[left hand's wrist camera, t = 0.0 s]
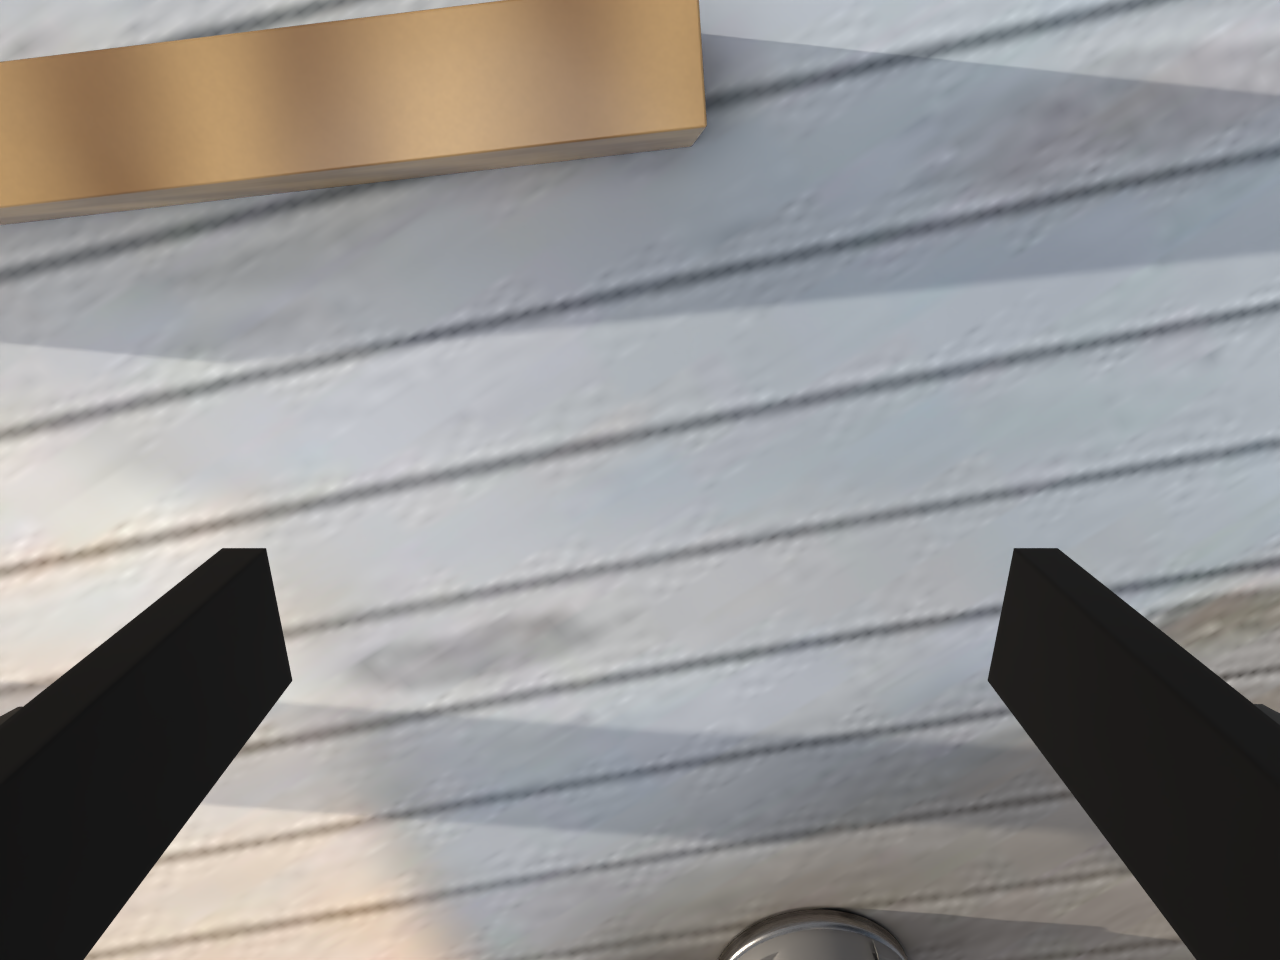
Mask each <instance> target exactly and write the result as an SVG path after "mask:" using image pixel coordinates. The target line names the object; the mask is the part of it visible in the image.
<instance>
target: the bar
mask: <svg viewBox="0 0 1280 960" xmlns="http://www.w3.org/2000/svg"><path fill="white" fill-rule="evenodd" d="M706 126H707V119H706V103H705V88H704V72H703V57H702V41H701V26H700V10H699V0H503V1H495V2H487V3H479V4H471V5H462V6H454V7H446V8H438V9H430V10H421V11H413V12H405V13H397V14H389V15H380V16H372V17H364V18H356V19H348V20H340V21H331V22H323V23H315V24H307V25H299V26H290V27H282V28H274V29H266V30H258V31H249V32H241V33H233V34H225V35H217V36H209V37H200V38H192V39H184V40H176V41H168V42H159V43H151V44H143V45H135V46H127V47H118V48H110V49H102V50H94V51H86V52H77V53H69V54H61V55H53V56H45V57H37V58H28V59H20V60H12V61H4V62H0V225H6V224H14V223H23V222H32V221H41V220H50V219H58V218H67V217H76V216H85V215H94V214H102V213H111V212H120V211H129V210H137V209H146V208H155V207H164V206H173V205H181V204H190V203H199V202H208V201H217V200H225V199H234V198H243V197H252V196H261V195H269V194H278V193H287V192H296V191H305V190H313V189H322V188H331V187H340V186H349V185H357V184H366V183H375V182H384V181H393V180H401V179H410V178H419V177H428V176H437V175H445V174H454V173H463V172H472V171H480V170H489V169H498V168H507V167H516V166H524V165H533V164H542V163H551V162H560V161H568V160H577V159H586V158H595V157H604V156H612V155H621V154H630V153H639V152H648V151H656V150H665V149H674V148H683V147H691V146H692V145H693V144H694V143H695V141H696V140H697V139H698V137H699V136H700V134H701V133H702V132H703V130H704V129H705V128H706Z"/></svg>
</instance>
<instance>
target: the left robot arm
mask: <svg viewBox="0 0 1280 960" xmlns="http://www.w3.org/2000/svg"><path fill="white" fill-rule="evenodd" d="M291 682H292V677H291V671H290V666H289V661H288V656H287V651H286V646H285V641H284V636H283V631H282V626H281V621H280V616H279V611H278V606H277V601H276V596H275V591H274V586H273V581H272V576H271V571H270V566H269V561H268V556H267V551H266V548H222V549H221V550H220V551H218V552H217V553H216V554H215V555H213V556H212V557H211V558H210V559H208V560H207V561H206V562H205V563H203V564H202V565H201V566H200V567H198V568H197V569H196V570H194V571H193V572H192V573H191V574H189V575H188V576H187V577H186V578H184V579H183V580H182V581H181V582H179V583H178V584H177V585H176V586H174V587H173V588H172V589H171V590H169V591H168V592H167V593H166V594H164V595H163V596H162V597H161V598H159V599H158V600H157V601H156V602H154V603H153V604H152V605H151V606H149V607H148V608H147V609H145V610H144V611H143V612H142V613H140V614H139V615H138V616H137V617H135V618H134V619H133V620H132V621H130V622H129V623H128V624H127V625H125V626H124V627H123V628H122V629H120V630H119V631H118V632H117V633H115V634H114V635H113V636H112V637H110V638H109V639H108V640H107V641H105V642H104V643H103V644H102V645H100V646H99V647H98V648H96V649H95V650H94V651H93V652H91V653H90V654H89V655H88V656H86V657H85V658H84V659H83V660H81V661H80V662H79V663H78V664H76V665H75V666H74V667H73V668H71V669H70V670H69V671H68V672H66V673H65V674H64V675H63V676H61V677H60V678H59V679H58V680H56V681H55V682H54V683H53V684H51V685H50V686H49V687H47V688H46V689H45V690H44V691H42V692H41V693H40V694H39V695H37V696H36V697H35V698H34V699H32V700H31V701H30V702H29V703H27V704H26V705H25V706H24V707H17V708H15V709H14V710H12V711H10V712H8V713H6V714H4V715H2V716H0V960H84V958H85V957H86V956H87V954H88V953H89V952H90V950H91V949H92V948H93V946H94V945H95V944H96V942H97V941H98V940H99V938H100V937H101V936H102V934H103V933H104V932H105V930H106V929H107V928H108V926H109V925H110V924H111V922H112V921H113V920H114V918H115V917H116V916H117V914H118V913H119V912H120V910H121V909H122V908H123V906H124V905H125V904H126V902H127V901H128V900H129V898H130V897H131V896H132V894H133V893H134V892H135V890H136V889H137V888H138V886H139V885H140V883H141V882H142V881H143V879H144V878H145V877H146V875H147V874H148V873H149V871H150V870H151V869H152V867H153V866H154V865H155V863H156V862H157V861H158V859H159V858H160V857H161V855H162V854H163V853H164V851H165V850H166V849H167V847H168V846H169V845H170V843H171V842H172V841H173V839H174V838H175V837H176V835H177V834H178V833H179V831H180V830H181V829H182V827H183V826H184V825H185V823H186V822H187V821H188V819H189V818H190V817H191V815H192V814H193V813H194V811H195V810H196V809H197V807H198V806H199V805H200V803H201V802H202V801H203V799H204V798H205V797H206V795H207V794H208V793H209V791H210V790H211V789H212V787H213V786H214V785H215V783H216V782H217V781H218V779H219V778H220V777H221V775H222V774H223V773H224V771H225V770H226V769H227V767H228V766H229V765H230V763H231V762H232V761H233V759H234V758H235V757H236V755H237V754H238V753H239V751H240V750H241V749H242V747H243V746H244V745H245V743H246V742H247V740H248V739H249V738H250V736H251V735H252V734H253V732H254V731H255V730H256V728H257V727H258V726H259V724H260V723H261V722H262V720H263V719H264V718H265V716H266V715H267V714H268V712H269V711H270V710H271V708H272V707H273V706H274V704H275V703H276V702H277V700H278V699H279V698H280V696H281V695H282V694H283V692H284V691H285V690H286V688H287V687H288V686H289V684H290V683H291ZM988 682H989V683H990V684H991V686H992V687H993V688H994V690H995V691H996V692H997V694H998V695H999V696H1000V698H1001V699H1002V700H1003V702H1004V703H1005V704H1006V706H1007V707H1008V708H1009V710H1010V711H1011V712H1012V714H1013V715H1014V716H1015V718H1016V719H1017V720H1018V722H1019V723H1020V724H1021V726H1022V727H1023V728H1024V730H1025V731H1026V732H1027V734H1028V735H1029V736H1030V738H1031V739H1032V740H1033V742H1034V743H1035V745H1036V746H1037V747H1038V749H1039V750H1040V751H1041V753H1042V754H1043V755H1044V757H1045V758H1046V759H1047V761H1048V762H1049V763H1050V765H1051V766H1052V767H1053V769H1054V770H1055V771H1056V773H1057V774H1058V775H1059V777H1060V778H1061V779H1062V781H1063V782H1064V783H1065V785H1066V786H1067V787H1068V789H1069V790H1070V791H1071V793H1072V794H1073V795H1074V797H1075V798H1076V799H1077V801H1078V802H1079V803H1080V805H1081V806H1082V807H1083V809H1084V810H1085V811H1086V813H1087V814H1088V815H1089V817H1090V818H1091V819H1092V821H1093V822H1094V823H1095V825H1096V826H1097V827H1098V829H1099V830H1100V831H1101V833H1102V834H1103V835H1104V837H1105V838H1106V839H1107V841H1108V842H1109V843H1110V845H1111V846H1112V847H1113V849H1114V850H1115V851H1116V853H1117V854H1118V855H1119V857H1120V858H1121V859H1122V861H1123V862H1124V863H1125V865H1126V866H1127V867H1128V869H1129V870H1130V871H1131V873H1132V874H1133V875H1134V877H1135V878H1136V879H1137V881H1138V882H1139V883H1140V885H1141V886H1142V888H1143V889H1144V890H1145V892H1146V893H1147V894H1148V896H1149V897H1150V898H1151V900H1152V901H1153V902H1154V904H1155V905H1156V906H1157V908H1158V909H1159V910H1160V912H1161V913H1162V914H1163V916H1164V917H1165V918H1166V920H1167V921H1168V922H1169V924H1170V925H1171V926H1172V928H1173V929H1174V930H1175V932H1176V933H1177V934H1178V936H1179V937H1180V938H1181V940H1182V941H1183V942H1184V944H1185V945H1186V946H1187V948H1188V949H1189V950H1190V952H1191V953H1192V954H1193V956H1194V957H1195V958H1196V960H1280V713H1278V712H1276V711H1274V710H1272V709H1270V708H1268V707H1266V706H1265V705H1263V704H1253V703H1251V702H1250V701H1249V700H1248V699H1246V698H1245V697H1244V696H1243V695H1241V694H1240V693H1239V692H1238V691H1236V690H1235V689H1234V688H1233V687H1231V686H1230V685H1229V684H1227V683H1226V682H1225V681H1224V680H1222V679H1221V678H1220V677H1219V676H1217V675H1216V674H1215V673H1214V672H1212V671H1211V670H1210V669H1209V668H1207V667H1206V666H1205V665H1204V664H1202V663H1201V662H1200V661H1199V660H1197V659H1196V658H1195V657H1194V656H1192V655H1191V654H1190V653H1189V652H1187V651H1186V650H1185V649H1184V648H1182V647H1181V646H1180V645H1178V644H1177V643H1176V642H1175V641H1173V640H1172V639H1171V638H1170V637H1168V636H1167V635H1166V634H1165V633H1163V632H1162V631H1161V630H1160V629H1158V628H1157V627H1156V626H1155V625H1153V624H1152V623H1151V622H1150V621H1148V620H1147V619H1146V618H1145V617H1143V616H1142V615H1141V614H1140V613H1138V612H1137V611H1136V610H1135V609H1133V608H1132V607H1131V606H1129V605H1128V604H1127V603H1126V602H1124V601H1123V600H1122V599H1121V598H1119V597H1118V596H1117V595H1116V594H1114V593H1113V592H1112V591H1111V590H1109V589H1108V588H1107V587H1106V586H1104V585H1103V584H1102V583H1101V582H1099V581H1098V580H1097V579H1096V578H1094V577H1093V576H1092V575H1091V574H1089V573H1088V572H1087V571H1086V570H1084V569H1083V568H1082V567H1080V566H1079V565H1078V564H1077V563H1075V562H1074V561H1073V560H1072V559H1070V558H1069V557H1068V556H1067V555H1065V554H1064V553H1063V552H1062V551H1060V550H1059V549H1058V548H1014V551H1013V556H1012V561H1011V566H1010V571H1009V576H1008V581H1007V586H1006V591H1005V596H1004V601H1003V606H1002V611H1001V616H1000V621H999V626H998V631H997V636H996V641H995V646H994V651H993V656H992V661H991V666H990V671H989V677H988ZM719 960H907V957H906V955H905V953H904V950H903V948H902V947H901V945H900V944H899V942H898V941H897V940H896V939H895V938H894V937H893V936H892V935H891V934H890V933H889V932H888V931H887V930H885V929H884V928H883V927H881V926H880V925H878V924H876V923H875V922H873V921H870V920H868V919H866V918H863V917H861V916H858V915H854V914H851V913H847V912H841V911H834V910H803V911H796V912H790V913H786V914H782V915H778V916H775V917H772V918H769V919H767V920H764V921H762V922H760V923H758V924H756V925H754V926H752V927H751V928H749V929H747V930H746V931H744V932H743V933H742V934H740V935H739V936H738V937H737V938H735V939H734V940H733V941H732V942H731V943H730V944H729V945H728V946H727V948H726V949H725V950H724V952H723V953H722V954H721V956H720V958H719Z"/></svg>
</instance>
